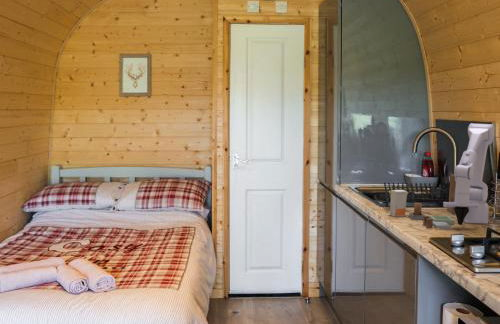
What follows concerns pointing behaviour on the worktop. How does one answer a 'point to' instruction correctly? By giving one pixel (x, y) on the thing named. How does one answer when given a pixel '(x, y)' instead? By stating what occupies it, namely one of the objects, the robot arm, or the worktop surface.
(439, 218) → the tray
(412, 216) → the socket
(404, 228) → the worktop surface
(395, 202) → the skincare box
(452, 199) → the wooden block
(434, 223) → the grey square tile
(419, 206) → the dowel
